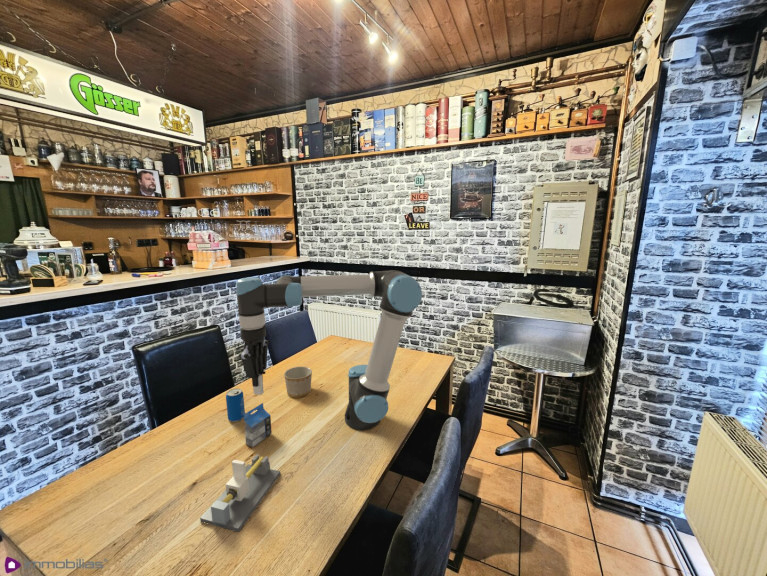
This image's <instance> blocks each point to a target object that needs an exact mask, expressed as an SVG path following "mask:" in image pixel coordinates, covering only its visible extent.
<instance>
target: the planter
mask: <svg viewBox="0 0 767 576" xmlns="http://www.w3.org/2000/svg"><path fill="white" fill-rule="evenodd" d="M312 373H313V372H312V369H311V368H309V367H308V366H295V367H291V368H289V369H287V370H285V372H284V374H283V377H284V380H285V381H284V382H285V388H286V389H285V390H286V394H287V395H288V396H289V397H291V398H297V399H299V398H303V397H306V396H307V395H309V394H310V393H311V390H312V389H311V388H312V375H313V374H312Z"/></svg>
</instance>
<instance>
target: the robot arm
mask: <svg viewBox="0 0 767 576" xmlns="http://www.w3.org/2000/svg"><path fill="white" fill-rule="evenodd" d="M357 295H358V296H359V295H370V296H371V298H375V297H377V298H378V297H379V298H381V300H380V304H379V309H380V311H381V317H380V320H379V323H378V327H377V330H376V334H375V337H374V340H373V344H372V346H371V347H372V348H371V352H370V355H369V358H368V362H367V364H357V365H354V366H351V368H349V369H348V374H347V377H348V403H347V406H346V409H345V412H344V422H345V424H346V426H348V427H349V428H351V429H353V430H357V431H366V430H367V431H368V430H370V429H374V428H375V427H377V426H378V425H379V424H380V422H381V420H382V419H384V418H385V417H386V415H387V414H388V411H389V402H388V400H387V399H388V397H389V396H388V395H389V391H390V389H391V385H390V382H389V381H388V380H389V377H390V374H391V370H392V366H393V363H394V361H395V360H394V359H395V357H396V353H397V350H398V346H399V343H400V341H401V337H402V333H403V329H404V326H405V323H406V320H407V319H409V318H411V317H412V314H413V312H414V310H415V309H417V308H418V306H420V303H421V302H422V298H423V291H422V287H421V285H420V283H419V282H418V281H417V280H416V279H415V278H414V277H413V276H411V275H409V274H406V273H405V272H402V271H400V270H397V269H396V270H393V269H391V270H381V271H380V270H379V271H370V272H369V273H368V274H347V275H346V274H342V275H340V274H339V275H337V274H336V275H335V274H334V275H308V276H307V275H306V276H305V275H304V276H292V275H289V274H285V275H282V276H280V277H278V278H277V280H276V281H275V283H263V280H262V279H261V278H260V277H252V276H251V277H243V278H240V279H238V280H237V281H236V294H235V296H236V303H237V311H238V318H239V327H240V328H239V333H240V339H241V340H242V341H243V342H244V344H243V351H242V353H241V352H240V353H239V354H238V358H240V359H241V362H242V366H243V369H244V372H245V376H246V378H247V379H251V382H252V387H253V388H252V390H253V395H257V396H262V395H263V394H264V392H265V391H264V383H263V382H264V375H266V371H265V370H266V369H267V367H268V366H267V365H268V364H267V362H268V347H269V345H270V341H269V339H268V340H266V339H265V338H266V337H267V329H266V328H267V327H266V325H265V324H266V317H265V308H268V309H269V308H285V307H286V308H287V307H288V308H293V307H298V306H301V305H302V304H303V298H308V297H309V298H310V297H311V298H312V297H331V296H333V297H334V296H338V297H339V296H357Z"/></svg>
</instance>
